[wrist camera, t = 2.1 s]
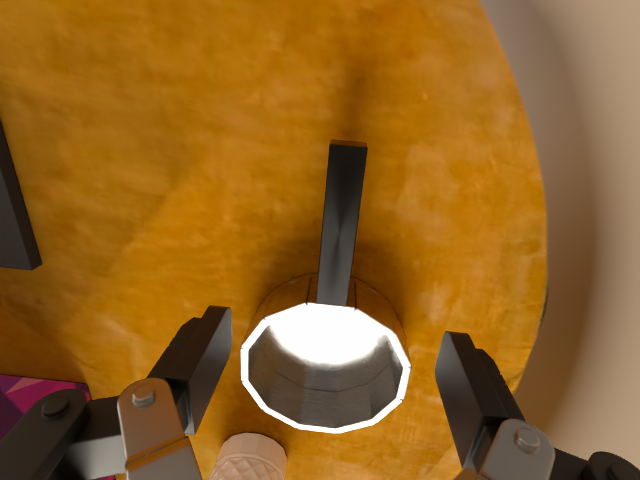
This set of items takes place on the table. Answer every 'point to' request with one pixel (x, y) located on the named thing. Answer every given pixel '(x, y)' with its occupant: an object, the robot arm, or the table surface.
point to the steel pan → (328, 327)
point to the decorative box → (28, 399)
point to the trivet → (14, 219)
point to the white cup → (250, 459)
